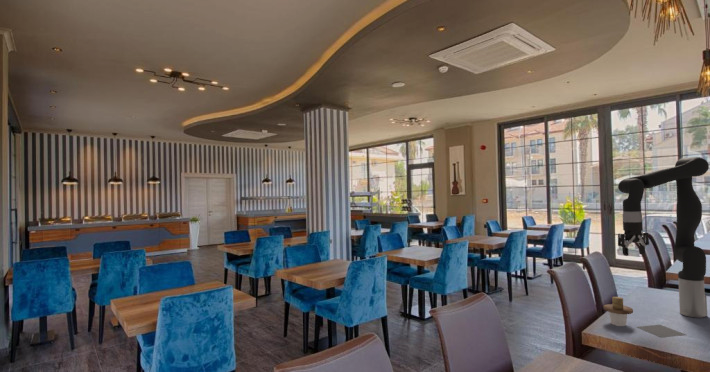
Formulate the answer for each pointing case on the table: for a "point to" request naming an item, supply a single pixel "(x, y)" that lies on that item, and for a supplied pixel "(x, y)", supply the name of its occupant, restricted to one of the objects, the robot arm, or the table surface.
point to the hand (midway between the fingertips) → (633, 254)
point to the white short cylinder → (618, 319)
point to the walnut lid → (618, 306)
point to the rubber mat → (661, 331)
